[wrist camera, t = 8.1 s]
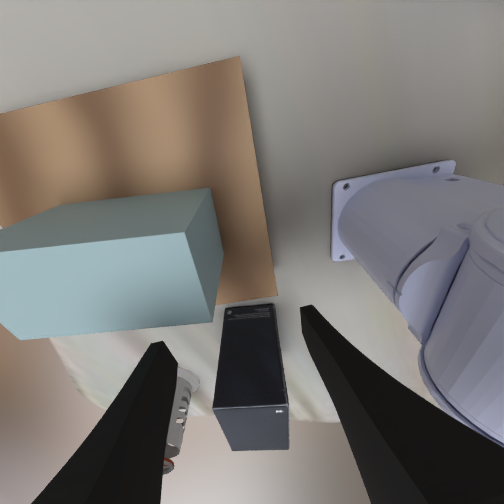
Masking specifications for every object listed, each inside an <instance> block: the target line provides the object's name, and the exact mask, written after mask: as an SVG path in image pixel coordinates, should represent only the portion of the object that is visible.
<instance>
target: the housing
mask: <svg viewBox="0 0 504 504" xmlns="http://www.w3.org/2000/svg"><path fill="white" fill-rule="evenodd" d="M223 256H224V251H223V246H222V241H221V236H220V232H219V227H218V222H217V217H216V213H215V208H214V203H213V198H212V193H211V189H210V188H202V189H193V190H185V191H176V192H167V193H158V194H150V195H141V196H132V197H123V198H115V199H106V200H97V201H88V202H80V203H71V204H62V205H58V206H56V207H53V208H51V209H49V210H46V211H44V212H41V213H39V214H37V215H34V216H32V217H30V218H27V219H25V220H22V221H20V222H18V223H15V224H13V225H11V226H8V227H6V228H3V229H1V230H0V323H1V324H2V325H3V326H4V327H6V328H7V329H8V330H9V331H10V332H11V333H12V334H14V335H15V336H16V337H17V338H18V339H19V340H26V339H37V338H48V337H59V336H70V335H80V334H91V333H102V332H113V331H123V330H134V329H145V328H155V327H166V326H177V325H188V324H198V323H209V322H212V321H213V315H214V309H215V303H216V297H217V292H218V286H219V280H220V274H221V268H222V262H223Z"/></svg>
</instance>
